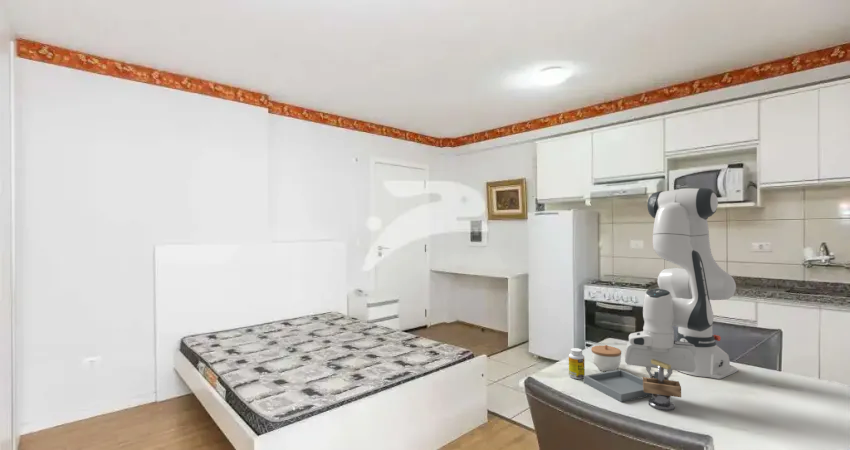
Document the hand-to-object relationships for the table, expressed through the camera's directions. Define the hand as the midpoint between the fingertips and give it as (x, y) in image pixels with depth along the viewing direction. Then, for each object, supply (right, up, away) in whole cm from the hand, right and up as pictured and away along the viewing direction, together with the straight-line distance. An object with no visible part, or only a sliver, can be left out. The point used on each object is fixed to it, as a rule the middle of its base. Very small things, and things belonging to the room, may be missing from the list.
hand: (659, 380), depth 134 cm
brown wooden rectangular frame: (-2, -1, -4) cm, 4 cm away
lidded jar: (-6, -5, +25) cm, 26 cm away
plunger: (-3, -5, -7) cm, 9 cm away
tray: (-9, -5, +7) cm, 13 cm away
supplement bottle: (-21, -6, +18) cm, 28 cm away
